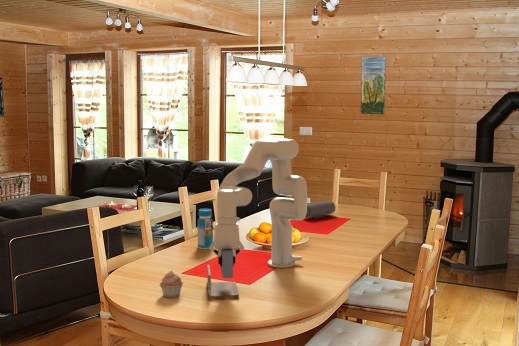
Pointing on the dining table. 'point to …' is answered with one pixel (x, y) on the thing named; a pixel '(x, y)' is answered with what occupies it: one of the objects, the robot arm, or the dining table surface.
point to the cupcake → (171, 285)
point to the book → (227, 263)
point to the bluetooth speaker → (320, 209)
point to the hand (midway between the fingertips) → (226, 265)
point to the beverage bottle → (205, 229)
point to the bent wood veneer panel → (220, 289)
